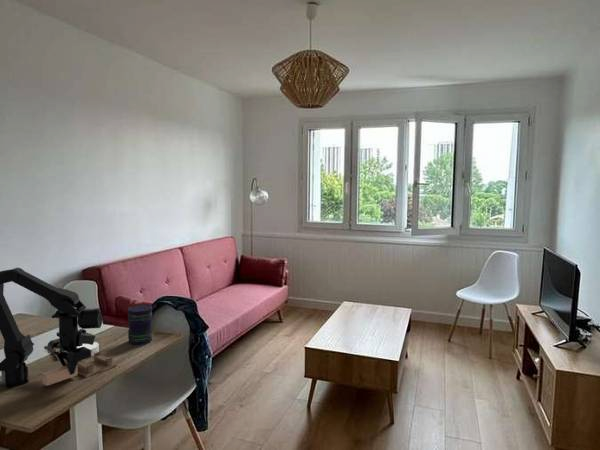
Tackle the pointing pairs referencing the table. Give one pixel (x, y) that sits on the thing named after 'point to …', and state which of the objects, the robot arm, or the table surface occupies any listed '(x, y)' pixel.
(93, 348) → the coaster
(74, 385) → the table surface
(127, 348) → the table surface
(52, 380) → the pinkish tan rectangular block
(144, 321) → the storage jar
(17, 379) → the robot arm
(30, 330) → the table surface
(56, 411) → the table surface
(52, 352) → the primitive tool
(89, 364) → the tan two-rail tray
